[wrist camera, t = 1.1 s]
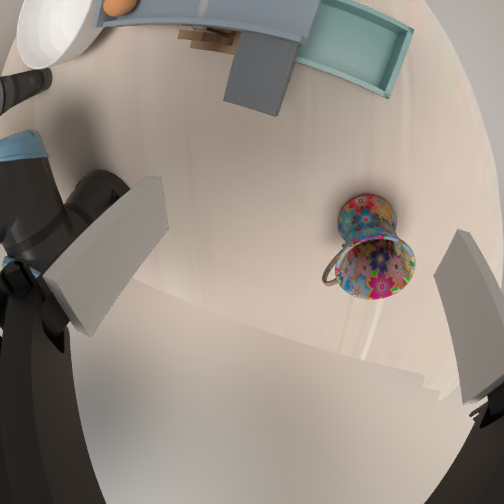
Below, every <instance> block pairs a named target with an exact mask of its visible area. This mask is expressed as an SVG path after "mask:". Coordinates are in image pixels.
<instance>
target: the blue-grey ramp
mask: <svg viewBox="0 0 504 504" xmlns="http://www.w3.org/2000/svg"><path fill="white" fill-rule="evenodd" d="M104 1H105V0H98V2H97V6H96V10H95V15H94V20H93V25H92V28H95V27H123V26H138V25H183V26H192V28H193V29H201V30H207V27H210V28H219V29H227V30H234V31H240V32H241V35H240V39H239V42H238V45H237V49H236V53H235V56H234V60H233V64H232V67H231V71H230V75H229V79H228V83H227V87H226V91H225V95H224V99H223V101H226V102H229V103H233V104H236V105H240V106H243V107H247V108H250V109H253V110H256V111H259V112H263V113H266V114H269V115H271V116H274V117H275V116H278V114H279V111H280V108H281V104H282V101H283V98H284V95H285V92H286V89H287V86H288V83H289V80H290V77H291V73H292V70H293V67H294V64H295V61H296V58H297V55H298V52H299V49H300V46H301V45H302V46H305V47H307V44H308V41H309V38H310V35H311V32H312V29H313V26H314V23H315V21H316V18H317V15H318V12H319V9H320V6H321V3H322V0H137V2H136V5H135V7H134V8H133V9H132V10H131V11H130V12H129V13H127V14H125V15H123V16H118V17H114V16H110V15H108V14H107V13H106V12H105V11H104V8H103V4H104Z"/></svg>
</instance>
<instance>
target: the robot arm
mask: <svg viewBox="0 0 504 504" xmlns="http://www.w3.org/2000/svg"><path fill="white" fill-rule="evenodd" d="M168 229H169V227H168V221H167V214H166V208H165V201H164V194H163V187H162V180H161V177H154V176H146V177H145V178H144V179H143V180H141V181H140V182H139V183H138V184H136V185H135V186H134V187H133V188H132V189H129V188H128V187H127V186H126V185H125V183H124V182H123V181H121V180H120V179H119V178H118V177H116V176H115V175H113V174H111V173H109V172H106V171H101V170H97V171H93V172H91V173H89V174H88V175H86V176H85V177H83V178H82V179H81V180H80V181H79V182H78V184H77V185H76V187H75V190H74V191H73V192H72V193H71V195H70V196H69V197H68V199H67V201H66V202H65V203H64V204H63V201H62V199H61V196H60V193H59V191H58V188H57V185H56V182H55V179H54V176H53V173H52V170H51V167H50V164H49V161H48V154H47V153H46V151H45V148H44V145H43V142H42V139H41V136H40V134H39V133H38V132H37V131H35V130H26V131H23V132H19V133H17V134H14V135H11V136H9V137H6V138H4V139H1V140H0V244H1V243H2V245H3V247H4V249H5V251H6V252H7V256H6V257H5V258H4V260H3V263H2V266H3V269H2V270H1V272H0V327H1V328H2V330H3V335H2V337H1V336H0V504H106V502H105V500H104V497H103V495H102V492H101V490H100V487H99V484H98V482H97V479H96V476H95V473H94V470H93V467H92V463H91V460H90V457H89V454H88V450H87V446H86V442H85V438H84V435H83V430H82V426H81V421H80V417H79V412H78V406H77V400H76V394H75V387H74V380H73V372H72V362H71V353H70V352H71V351H70V336H69V330H68V327H67V324H68V323H69V321H71V323H72V324H73V326H74V327H75V329H76V330H77V331H79V332H81V333H83V334H85V335H87V336H89V337H92V336H93V334H94V333H95V331H96V329H97V328H98V326H99V325H100V323H101V322H102V320H103V318H104V317H105V315H106V314H107V312H108V311H109V309H110V308H111V306H112V305H113V303H114V302H115V300H116V299H117V298H118V296H119V295H120V293H121V292H122V290H123V289H124V287H125V286H126V285H127V283H128V282H129V280H130V279H131V278H132V276H133V275H134V274H135V272H136V271H137V269H138V268H139V267H140V265H141V264H142V263H143V261H144V260H145V259H146V257H147V256H148V255H149V253H150V252H151V251H152V249H153V248H154V247H155V246H156V244H157V243H158V242H159V240H160V239H161V238H162V237H163V235H164V234H165V233H166V231H167V230H168ZM433 276H434V278H435V281H436V284H437V287H438V290H439V294H440V297H441V300H442V303H443V307H444V310H445V314H446V317H447V321H448V325H449V329H450V333H451V337H452V342H453V346H454V351H455V356H456V361H457V366H458V372H459V378H460V385H461V393H462V401H463V405H464V404H472V403H477V402H478V401H480V400H481V399H483V398H484V397H485V396H487V397H488V401H487V402H486V403H485V404H483V405H482V406H480V407H479V408H477V409H476V410H474V411H472V412H471V414H470V415H469V416H470V417H472V416H473V415H475V414H476V413H479V415H477V416H476V417H474V418H473V420H474V421H475V423H474V425H473V427H472V429H471V431H470V433H469V435H468V437H467V439H466V441H465V443H464V445H463V447H462V448H461V450H460V452H459V454H458V455H457V457H456V459H455V460H454V462H453V464H452V465H451V467H450V468H449V470H448V472H447V473H446V474H445V476H444V478H443V479H442V480H441V482H440V483H439V485H438V486H437V488H436V489H435V490H434V492H433V493H432V494H431V496H430V497H429V498H428V500H427V501H426V502H425V503H424V504H504V296H503V294H502V292H501V290H500V288H499V286H498V283H497V281H496V279H495V277H494V275H493V273H492V271H491V269H490V267H489V266H488V264H487V262H486V260H485V258H484V256H483V255H482V253H481V251H480V249H479V248H478V246H477V244H476V243H475V241H474V239H473V238H472V236H471V234H470V233H469V232H466V231H462V230H459V229H457V231H456V233H455V235H454V238H453V240H452V242H451V244H450V246H449V248H448V250H447V252H446V254H445V255H444V257H443V259H442V261H441V263H440V265H439V267H438V268H437V270H436V272H435V274H434V275H433Z"/></svg>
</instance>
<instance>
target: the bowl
mask: <svg viewBox="0 0 504 504" xmlns="http://www.w3.org/2000/svg"><path fill="white" fill-rule="evenodd" d="M97 2H98V0H25V1H24V3H23V6H22V9H21V12H20V15H19V20H18V26H17V45H18V50H19V53H20V56H21V58H22V60H23V61H24V63H25V64H26V65H27V66H29V67H31V68H33V69H43V68H46V67H50V66H54V65H57V64H61V63H64V62H67V61H70V60H72V59H74V58H76V57H77V56H79V55H80V54H81V53H82V52H84V51H85V50H86V49H87V48H88V47H89V46H90V45H91V44H92V43H93V41H94V40H95V38H96V37H97V36H98V35H99V33H100V32H101V31H102V29H103V28H104V27H95V28H92V25H93V20H94V15H95V10H96V6H97Z"/></svg>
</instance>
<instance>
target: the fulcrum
mask: <svg viewBox="0 0 504 504" xmlns="http://www.w3.org/2000/svg"><path fill="white" fill-rule="evenodd" d="M240 35H241V32H240V31H234V30H227V29H219V28H210V27H207V30H201V29H195V30H194V31H188V30H180V31H179V35H178V39H188V40H192V42H191V46H190V48H195V49H203V50H210V51H217V52H223V53H228V54H234V55H235V53H236V49H237V45H238V42H239V39H240Z"/></svg>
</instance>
